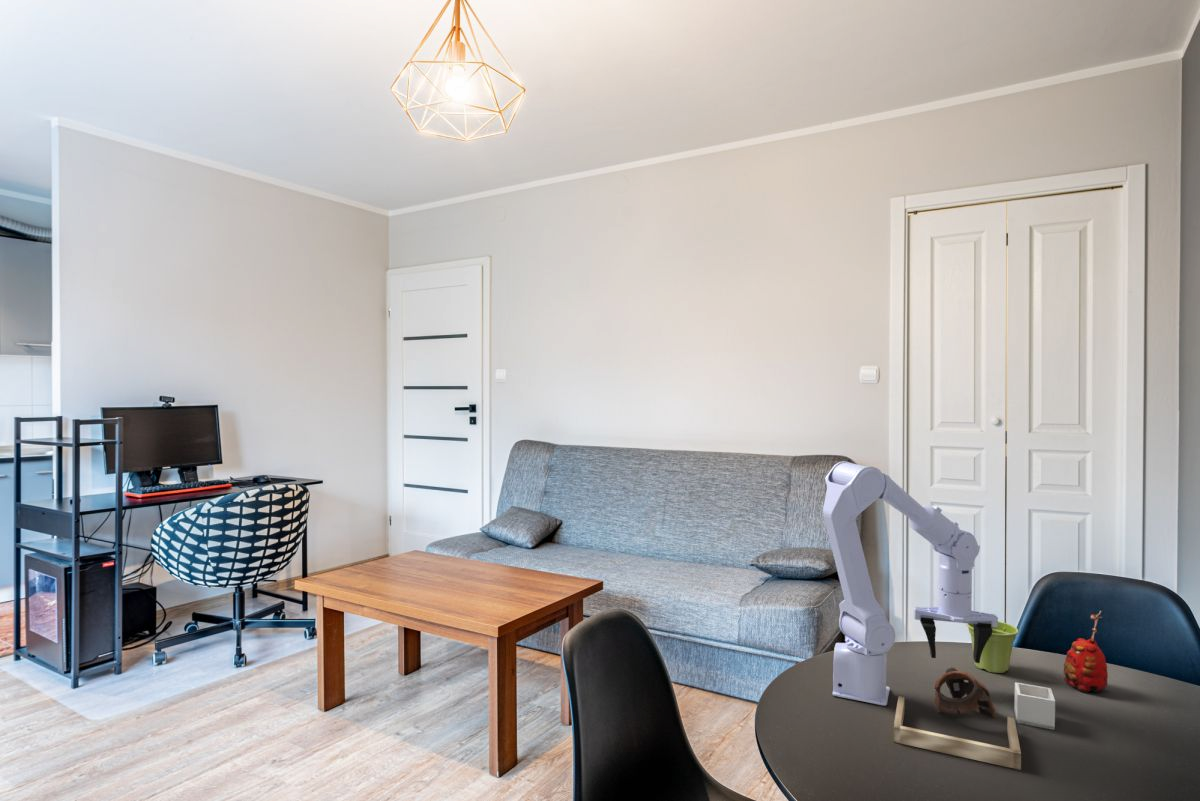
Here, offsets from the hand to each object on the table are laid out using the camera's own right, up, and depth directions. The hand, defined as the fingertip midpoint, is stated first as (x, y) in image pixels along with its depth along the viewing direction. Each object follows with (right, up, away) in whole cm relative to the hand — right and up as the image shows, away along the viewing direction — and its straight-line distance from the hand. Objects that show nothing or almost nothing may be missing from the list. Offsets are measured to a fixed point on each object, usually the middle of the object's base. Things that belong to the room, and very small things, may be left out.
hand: (954, 658), depth 134 cm
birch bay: (-10, -6, -19) cm, 23 cm away
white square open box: (+7, -6, -14) cm, 16 cm away
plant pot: (+12, -5, +9) cm, 16 cm away
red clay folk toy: (+25, -6, -1) cm, 26 cm away
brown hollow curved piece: (-4, -6, -10) cm, 12 cm away
